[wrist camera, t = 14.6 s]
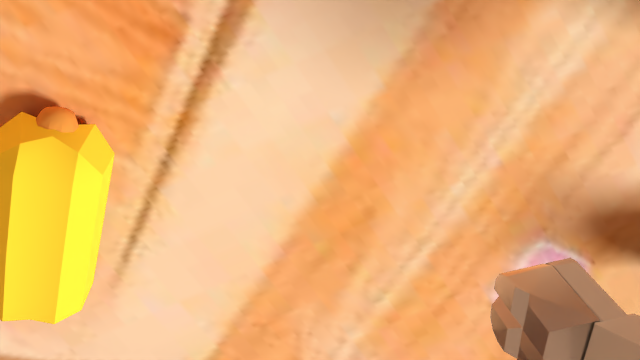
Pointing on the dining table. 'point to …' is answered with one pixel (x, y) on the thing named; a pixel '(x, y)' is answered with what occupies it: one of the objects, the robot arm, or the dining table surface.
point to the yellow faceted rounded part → (50, 213)
